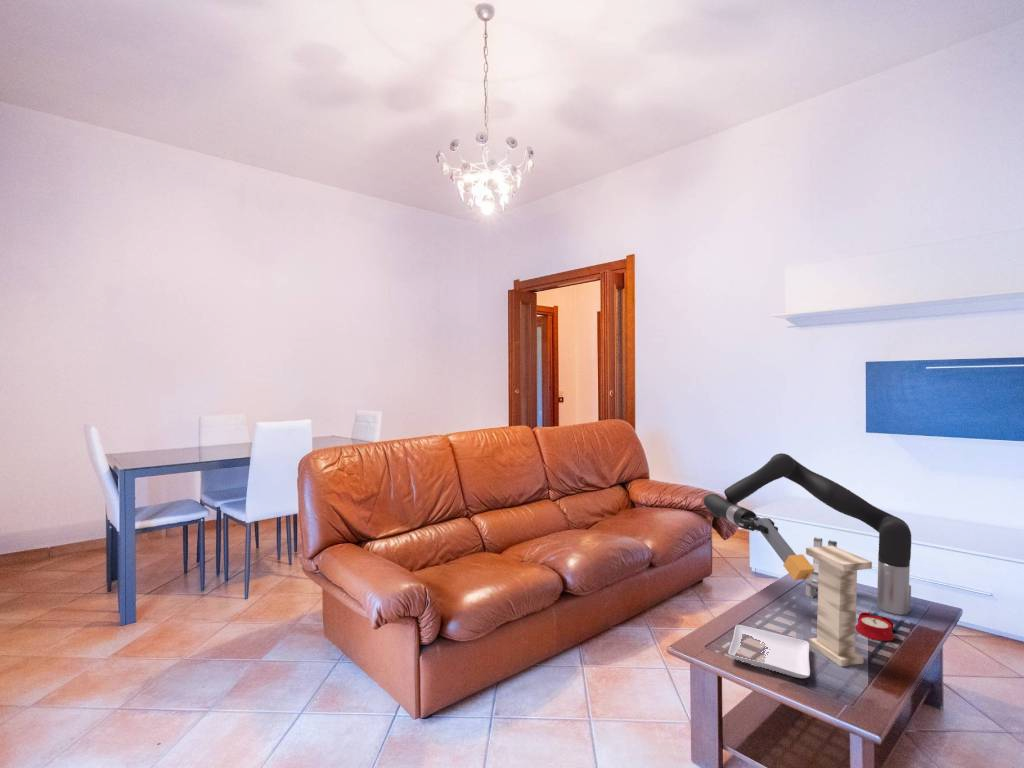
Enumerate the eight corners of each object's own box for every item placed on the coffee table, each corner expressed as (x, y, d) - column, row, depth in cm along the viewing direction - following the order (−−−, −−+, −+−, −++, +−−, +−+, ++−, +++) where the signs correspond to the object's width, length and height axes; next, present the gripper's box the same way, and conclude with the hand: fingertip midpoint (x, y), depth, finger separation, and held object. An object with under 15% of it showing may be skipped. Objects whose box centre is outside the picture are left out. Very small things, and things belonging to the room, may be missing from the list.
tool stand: (830, 640, 164) (832, 545, 163) (869, 664, 150) (871, 561, 149) (803, 643, 162) (806, 547, 161) (841, 668, 148) (843, 564, 147)
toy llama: (803, 597, 194) (804, 546, 194) (815, 584, 207) (817, 535, 206) (825, 604, 189) (827, 551, 188) (837, 589, 201) (838, 540, 201)
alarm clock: (854, 625, 167) (858, 599, 178) (854, 641, 168) (858, 615, 179) (893, 635, 160) (895, 608, 172) (893, 652, 162) (895, 624, 173)
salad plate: (809, 650, 158) (809, 639, 158) (809, 687, 140) (810, 675, 140) (735, 632, 169) (735, 622, 169) (727, 665, 151) (727, 653, 151)
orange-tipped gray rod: (765, 524, 190) (770, 514, 187) (808, 578, 170) (814, 569, 167) (752, 525, 188) (757, 515, 186) (794, 580, 169) (800, 570, 166)
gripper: (725, 508, 198) (755, 521, 181) (756, 506, 201) (789, 519, 184) (725, 527, 198) (755, 542, 181) (756, 525, 201) (788, 539, 184)
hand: (772, 530), depth 183 cm, fingers closed on orange-tipped gray rod, 3 cm apart
